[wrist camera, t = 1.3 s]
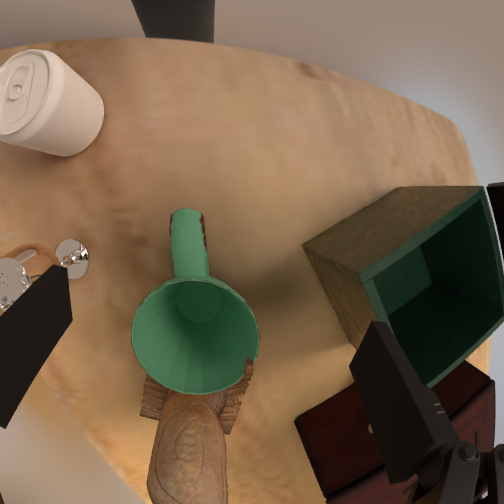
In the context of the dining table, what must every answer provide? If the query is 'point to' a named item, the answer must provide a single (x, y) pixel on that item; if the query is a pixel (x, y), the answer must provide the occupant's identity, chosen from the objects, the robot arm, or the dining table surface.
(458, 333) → the green cube bin
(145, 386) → the bird sculpture
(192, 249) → the mug
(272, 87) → the dining table surface
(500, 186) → the black flat panel
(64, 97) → the beverage can
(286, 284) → the dining table surface
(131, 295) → the dining table surface
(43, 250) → the wineglass
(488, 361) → the dining table surface
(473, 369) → the storage box
